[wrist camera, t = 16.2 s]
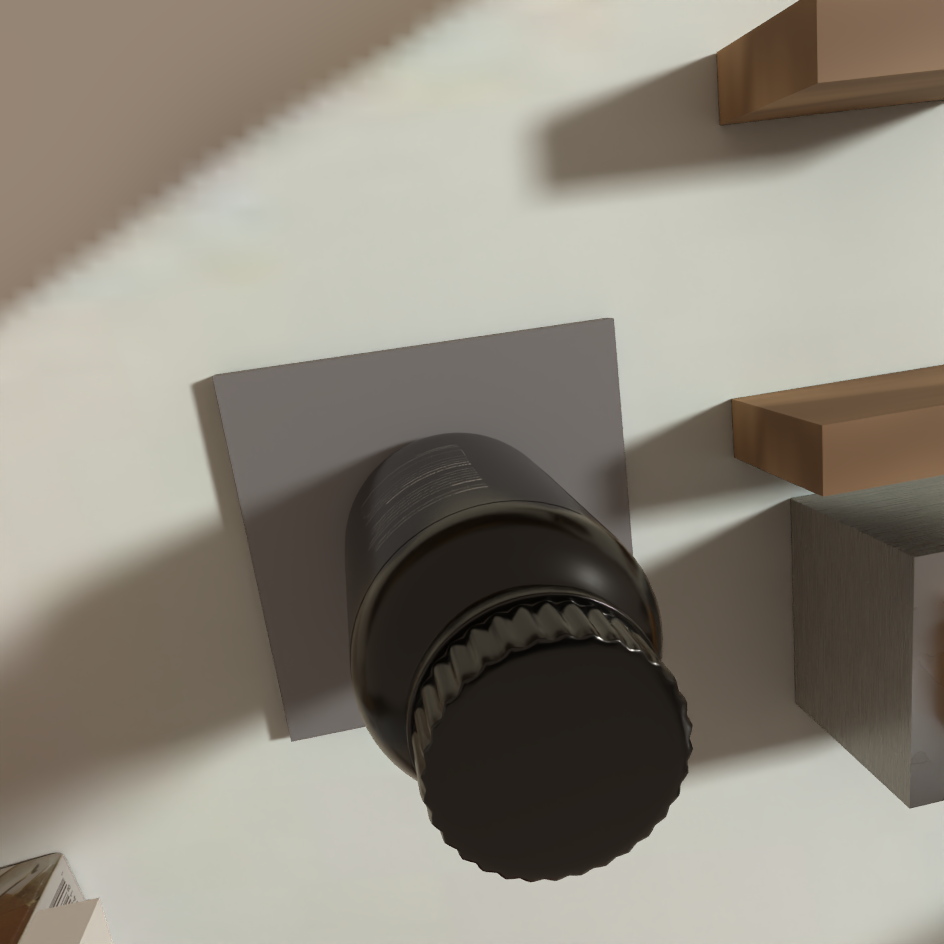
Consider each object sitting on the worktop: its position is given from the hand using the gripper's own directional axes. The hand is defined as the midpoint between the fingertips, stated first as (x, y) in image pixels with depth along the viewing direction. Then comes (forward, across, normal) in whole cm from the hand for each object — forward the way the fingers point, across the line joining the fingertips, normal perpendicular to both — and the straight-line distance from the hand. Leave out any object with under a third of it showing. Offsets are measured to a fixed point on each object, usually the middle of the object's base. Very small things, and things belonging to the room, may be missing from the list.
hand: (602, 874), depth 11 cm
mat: (+15, +1, 0) cm, 15 cm away
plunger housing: (+15, -15, +4) cm, 22 cm away
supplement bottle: (+14, 0, -1) cm, 14 cm away
